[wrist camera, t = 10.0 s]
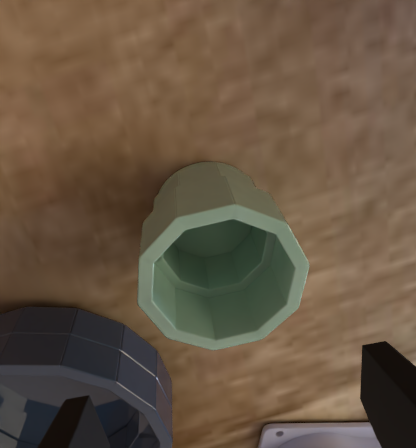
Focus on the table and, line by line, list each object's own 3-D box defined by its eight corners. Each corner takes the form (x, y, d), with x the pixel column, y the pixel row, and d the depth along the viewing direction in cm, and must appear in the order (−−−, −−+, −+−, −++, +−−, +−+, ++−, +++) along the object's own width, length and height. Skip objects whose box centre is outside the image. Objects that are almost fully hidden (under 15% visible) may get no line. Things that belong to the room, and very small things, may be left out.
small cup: (279, 155, 17) (324, 209, 12) (257, 269, 20) (287, 351, 15) (147, 145, 16) (140, 198, 12) (143, 265, 19) (135, 350, 14)
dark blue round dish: (178, 302, 20) (180, 366, 16) (164, 452, 26) (163, 526, 22) (-80, 295, 19) (-141, 364, 15) (-37, 457, 24) (-75, 537, 20)
